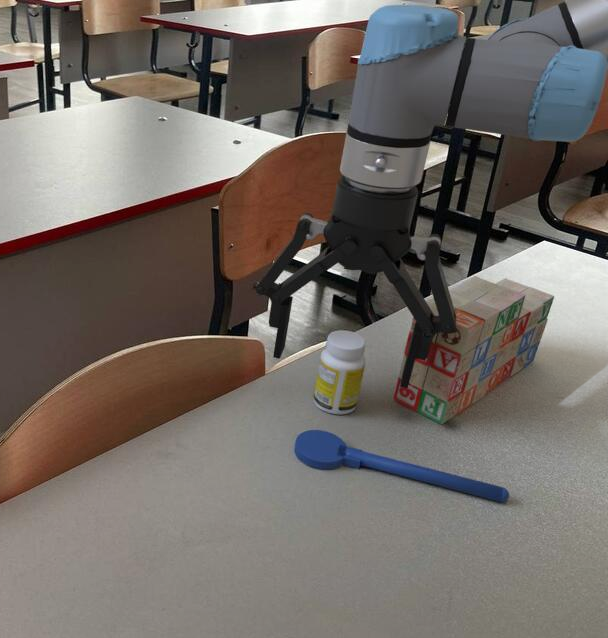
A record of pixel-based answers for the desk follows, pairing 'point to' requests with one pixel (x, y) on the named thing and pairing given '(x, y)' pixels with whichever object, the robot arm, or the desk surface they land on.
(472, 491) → the spoon
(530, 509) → the desk surface
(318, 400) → the supplement bottle
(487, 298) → the stack of blocks
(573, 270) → the desk surface
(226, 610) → the desk surface
